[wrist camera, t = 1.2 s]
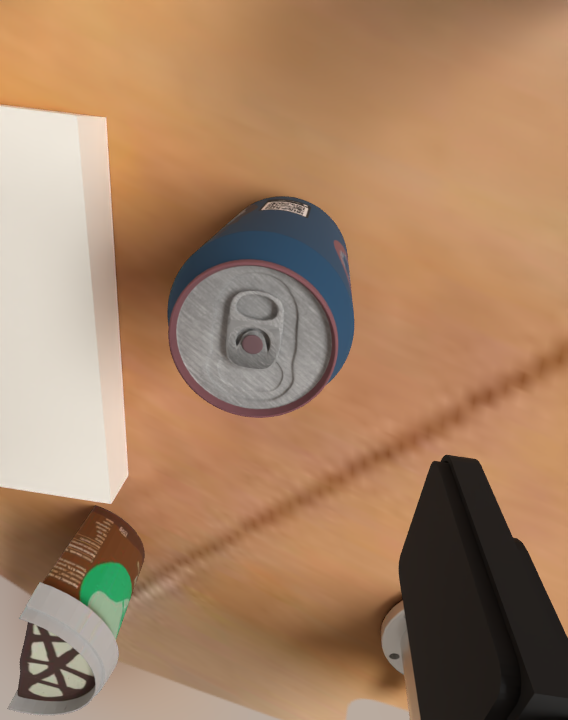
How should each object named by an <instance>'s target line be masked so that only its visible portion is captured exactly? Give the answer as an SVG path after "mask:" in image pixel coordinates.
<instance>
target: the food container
mask: <svg viewBox="0 0 568 720" xmlns="http://www.w3.org/2000/svg"><path fill="white" fill-rule="evenodd" d="M144 556H145V554H144V547H143V544H142V542H141V540H140V538H139V536H138V535H137V533H136V532H135V530H134V529H133V528H132V527H131V526H130V525H129V524H128V523H126V522H125V521H124V520H123V519H122V518H120V517H118V516H117V515H115V514H114V513H112V512H110V511H108V510H106V509H104V508H101V507H98V506H96V505H95V507H94V508H93V510H92V511H91V513H90V514H89V515H88V517H87V518H86V520H85V521H84V523H83V524H82V526H81V527H80V529H79V530H78V532H77V533H76V535H75V536H74V537H73V539H72V540H71V542H70V543H69V545H68V546H67V548H66V549H65V551H64V552H63V554H62V555H61V557H60V558H59V559H58V561H57V562H56V564H55V565H54V567H53V568H52V570H51V571H50V573H49V574H48V576H47V577H46V578H45V580H44V581H43V583H41V582H39V584H38V586H37V588H36V589H35V591H34V593H33V594H32V596H31V598H30V599H29V601H28V603H27V605H26V608H25V609H24V611H23V613H22V614H21V616H20V617H19V619H22V620H25V621H27V622H28V625H27V631H26V636H25V641H24V645H23V649H22V653H21V658H20V679H19V687H18V690H17V692H16V694H15V696H14V698H13V699H12V701H11V703H10V705H9V707H8V708H7V709H9V710H13V711H17V712H21V713H27V714H35V715H59V714H66V713H70V712H74V711H77V710H79V709H81V708H83V707H84V706H86V705H87V704H88V703H89V702H90V701H91V700H92V699H93V697H94V696H96V695H97V694H98V693H99V692H100V690H101V689H102V688H103V686H104V684H105V683H106V681H107V680H108V678H109V677H110V675H111V673H112V672H113V670H114V669H115V667H116V664H117V662H118V656H119V653H118V646H117V643H116V638H117V635H118V632H119V629H120V627H121V624H122V621H123V618H124V615H125V612H126V610H127V607H128V604H129V601H130V598H131V595H132V593H133V590H134V587H135V584H136V581H137V579H138V576H139V573H140V570H141V567H142V564H143V562H144Z"/></svg>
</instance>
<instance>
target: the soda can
mask: <svg viewBox="0 0 568 720" xmlns="http://www.w3.org/2000/svg"><path fill="white" fill-rule="evenodd" d="M168 326H169V331H168V336H169V346H170V351H171V354H172V358H173V360H174V363H175V365H176V367H177V369H178V371H179V373H180V374H181V376H182V378H183V379H184V380H185V382H186V383H187V384H188V385H189V387H190V388H191V389H192V390H193V391H194V392H195V393H197V394H198V395H199V396H200V397H201V398H203V399H204V400H205V401H207V402H208V403H210V404H212V405H213V406H215V407H217V408H219V409H221V410H224V411H226V412H229V413H232V414H236V415H240V416H245V417H255V418H263V417H273V416H279V415H283V414H286V413H289V412H292V411H294V410H296V409H298V408H300V407H302V406H304V405H305V404H307V403H308V402H310V401H311V400H312V399H313V398H315V397H316V396H317V395H318V394H319V393H320V392H321V391H322V389H323V388H324V387H325V386H326V385H327V384H328V383H329V382H330V381H331V380H332V379H333V378H334V377H335V376H336V375H337V373H338V372H339V371H340V369H341V368H342V366H343V364H344V363H345V361H346V359H347V356H348V354H349V351H350V348H351V345H352V340H353V335H354V312H353V303H352V293H351V284H350V274H349V265H348V255H347V249H346V245H345V242H344V239H343V236H342V234H341V232H340V230H339V229H338V227H337V225H336V224H335V223H334V221H333V220H332V219H331V218H330V217H329V216H328V215H327V214H326V213H325V212H324V211H323V210H321V209H320V208H318V207H317V206H315V205H313V204H312V203H309V202H307V201H305V200H302V199H298V198H294V197H283V196H281V197H271V198H266V199H263V200H260V201H258V202H255V203H253V204H251V205H250V206H248V207H247V208H245V209H244V210H243V211H241V212H240V213H239V214H238V215H237V216H236V217H235V218H233V219H232V220H231V221H230V222H229V223H228V224H227V225H226V226H224V227H223V228H222V229H221V230H220V231H219V232H218V233H217V234H215V235H214V236H213V237H212V238H211V239H210V240H209V241H207V242H206V243H205V244H204V245H203V246H202V247H201V248H200V249H198V250H197V251H196V252H195V253H194V254H193V255H192V256H191V257H190V258H189V259H188V260H187V261H186V262H185V264H184V265H183V266H182V268H181V269H180V271H179V272H178V274H177V276H176V278H175V280H174V283H173V285H172V288H171V292H170V296H169V301H168Z"/></svg>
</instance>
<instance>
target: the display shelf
mask: <svg viewBox="0 0 568 720" xmlns="http://www.w3.org/2000/svg"><path fill="white" fill-rule="evenodd" d="M127 477H128V460H127V444H126V428H125V412H124V395H123V379H122V363H121V347H120V331H119V315H118V299H117V283H116V267H115V251H114V235H113V219H112V202H111V186H110V170H109V154H108V138H107V122H106V117H98V116H90V115H82V114H74V113H66V112H58V111H50V110H42V109H34V108H26V107H18V106H10V105H1V104H0V487H6V488H12V489H18V490H25V491H31V492H37V493H44V494H50V495H57V496H63V497H69V498H76V499H82V500H89V501H95V502H101V503H108V504H111V503H112V502H113V500H114V498H115V497H116V495H117V493H118V492H119V490H120V488H121V487H122V485H123V483H124V482H125V480H126V478H127Z"/></svg>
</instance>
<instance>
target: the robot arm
mask: <svg viewBox="0 0 568 720" xmlns="http://www.w3.org/2000/svg"><path fill="white" fill-rule="evenodd" d="M399 579H400V586H401V592H402V599H403V600H402V601H401V602H400V603H398V604H397V605H396V606H394V607H393V608H392V609H391V610H390V612H389V613H388V614H387V615H386V617H385V619H384V621H383V623H382V627H381V643H382V649H383V652H384V655H385V657H386V658H387V660H388V661H389V663H390V664H391V665H392V666H393V667H394V668H395V669H396V670H397V671H399V672H400V673H402V674H403V675H404V677H405V685H406V693H407V700H408V708H409V716H410V720H568V638H567V636H566V634H565V631H564V629H563V627H562V625H561V623H560V621H559V618H558V616H557V614H556V612H555V610H554V608H553V605H552V603H551V601H550V599H549V597H548V595H547V592H546V590H545V588H544V586H543V584H542V582H541V579H540V577H539V575H538V573H537V571H536V569H535V566H534V564H533V562H532V560H531V558H530V555H529V553H528V551H527V550H526V548H525V546H524V545H523V543H522V542H521V541H520V540H518V539H517V538H513V537H512V535H511V532H510V530H509V528H508V526H507V523H506V521H505V519H504V517H503V514H502V512H501V510H500V507H499V505H498V503H497V501H496V498H495V496H494V494H493V492H492V489H491V487H490V485H489V482H488V480H487V478H486V476H485V473H484V471H483V469H482V467H481V464H480V463H479V461H478V460H476V459H472V458H465V457H458V456H451V455H445V456H444V457H443V458H442V460H441V462H438V461H433V462H432V464H431V466H430V469H429V472H428V475H427V478H426V481H425V484H424V487H423V490H422V493H421V496H420V499H419V502H418V505H417V508H416V511H415V514H414V517H413V520H412V522H411V525H410V528H409V531H408V534H407V537H406V540H405V543H404V546H403V549H402V552H401V555H400V560H399Z"/></svg>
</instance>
